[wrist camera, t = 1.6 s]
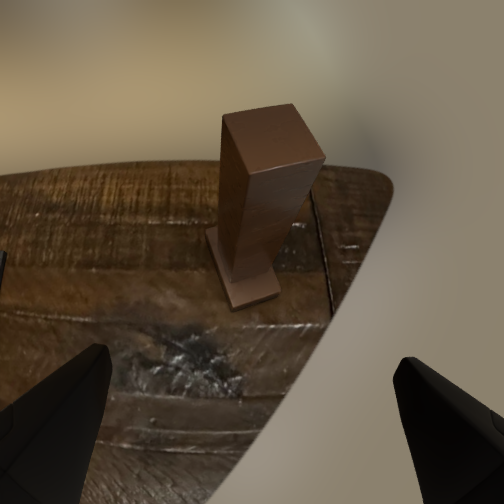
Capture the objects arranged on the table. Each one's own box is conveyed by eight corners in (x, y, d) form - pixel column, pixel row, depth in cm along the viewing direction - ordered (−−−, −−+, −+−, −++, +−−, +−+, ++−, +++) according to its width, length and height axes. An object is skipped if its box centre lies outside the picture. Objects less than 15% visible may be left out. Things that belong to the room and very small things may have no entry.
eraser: (277, 296, 23) (359, 194, 10) (231, 312, 22) (255, 222, 9) (249, 226, 25) (285, 77, 11) (205, 239, 24) (199, 89, 11)
